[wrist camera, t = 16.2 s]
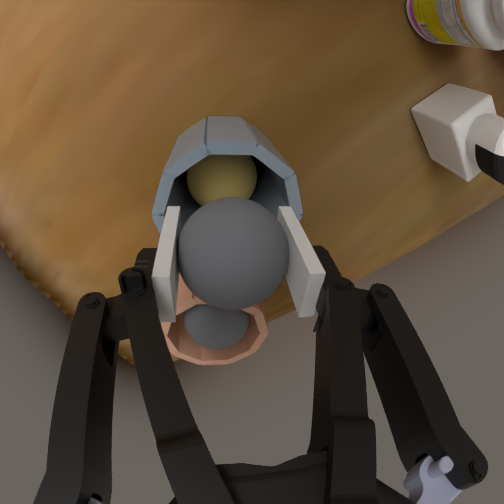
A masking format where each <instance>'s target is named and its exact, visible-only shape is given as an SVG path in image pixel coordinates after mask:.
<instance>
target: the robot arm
mask: <svg viewBox="0 0 504 504" xmlns="http://www.w3.org/2000/svg"><path fill="white" fill-rule="evenodd" d="M277 220H278V221H279V222H280V224H281V226H282V228H283V229H284V232H285V234H286V237H287V241H288V247H289V260H288V266H287V270H286V273H285V278H286V281H287V284H288V287H289V290H290V293H291V296H292V299H293V302H294V304H295V307H296V310H297V313H298V316H299V317H311V316H314V312H315V309H317V312H318V314H319V315H318V318H317V321H316V324H315V327H314V330H313V332H315V331H316V356H315V380H314V398H313V414H312V415H313V416H312V428H311V439H310V445H309V448H308V451H307V454H306V455H301V456H298V457H296V458H294V459H291V460H289V461H286V462H284V463H282V464H279V465H277V466H271V467H270V466H260V465H252V464H245V463H236V464H222V465H221V464H219V465H215V463H214V461H213V459H212V457H211V455H210V452H209V450H208V448H207V446H206V443H205V441H204V439H203V437H202V435H201V433H200V431H199V430H198V427H197V425H196V423H195V420H194V418H193V416H192V413H191V411H190V408H189V405H188V402H187V400H186V397H185V395H184V392H183V389H182V386H181V384H180V381H179V378H178V375H177V373H176V370H175V367H174V364H173V361H172V358H171V355H170V352H169V349H168V346H167V342H166V339H165V336H164V333H163V330H162V326H161V323H160V322H176V308H177V295H178V283H179V269H178V264H177V243H178V239H179V235H180V232H181V213H180V206H168V207H167V211H166V215H165V219H164V223H163V227H162V231H161V235H160V240H159V244H158V248H143V249H142V250H141V251H140V252H139V253H138V255H137V258H136V262H135V265H134V267H131V268H128V269H126V270H124V271H122V272H121V274H120V275H119V278H118V280H119V284H120V288H121V292H122V294H120V295H118V296H115V297H111V298H105V296H104V295H103V294H101V293H99V292H92V293H88V294H86V295H84V296H83V297H82V298H81V299H80V301H79V303H78V306H77V309H76V312H75V316H74V319H73V323H72V326H71V330H70V333H69V337H68V341H67V345H66V349H65V353H64V357H63V361H62V366H61V371H60V375H59V379H58V385H57V390H56V395H55V401H54V407H53V414H52V420H51V428H50V436H49V445H48V456H47V470H46V473H45V476H44V478H43V480H42V483H41V485H40V488H39V490H38V493H37V495H36V498H35V500H34V503H33V504H110V500H111V493H112V492H111V491H112V470H111V469H112V463H111V448H112V447H111V446H112V443H111V442H112V415H113V399H114V386H115V375H116V374H115V373H116V364H117V356H118V347H119V341H120V340H125V339H129V338H130V343H131V348H132V352H133V357H134V361H135V366H136V370H137V374H138V378H139V382H140V386H141V390H142V394H143V398H144V401H145V405H146V408H147V412H148V416H149V419H150V422H151V426H152V429H153V432H154V435H155V438H156V445H157V449H158V452H159V456H160V458H161V461H162V464H163V467H164V469H165V472H166V475H167V477H168V480H169V483H170V485H171V488H172V490H173V492H174V495H175V497H174V498H173V499H172V501H171V502H170V503H169V504H450V503H451V502H452V500H453V499H454V498H455V497H456V496H457V495H458V494H459V493H460V492H461V491H463V490H465V489H467V488H469V487H471V486H473V485H476V484H477V483H479V482H481V481H482V480H483V479H484V478H485V476H486V474H487V471H488V464H487V463H488V462H487V460H486V458H485V456H484V455H483V454H482V452H481V451H480V450H479V449H478V447H477V446H476V445H475V443H474V442H473V441H472V440H471V438H470V437H469V436H468V435H467V433H466V432H465V431H464V430H463V428H462V427H461V426H460V424H459V421H458V419H457V416H456V414H455V412H454V409H453V407H452V405H451V403H450V400H449V398H448V395H447V394H446V392H445V389H444V387H443V384H442V382H441V380H440V378H439V376H438V374H437V372H436V370H435V368H434V366H433V364H432V362H431V360H430V358H429V356H428V354H427V352H426V350H425V348H424V346H423V344H422V342H421V340H420V338H419V336H418V334H417V332H416V331H415V329H414V327H413V326H412V323H411V321H410V320H409V318H408V316H407V314H406V312H405V311H404V309H403V307H402V306H401V304H400V302H399V300H398V298H397V297H396V295H395V293H394V292H393V290H392V289H391V288H389V287H388V286H386V285H384V284H378V283H377V284H373V285H372V286H371V288H370V290H369V291H368V290H364V289H358V288H355V287H354V284H353V283H352V282H351V281H350V280H348V279H347V278H344V277H342V276H341V274H340V272H339V270H338V268H337V267H336V265H335V263H334V261H333V260H332V258H331V256H330V254H329V253H328V251H327V250H326V249H325V248H323V247H322V246H312V245H311V243H310V242H309V240H308V238H307V236H306V234H305V232H304V230H303V228H302V226H301V225H300V223H299V221H298V219H297V217H296V215H295V214H294V212H293V210H292V208H291V206H279V208H278V215H277ZM363 352H364V355H365V357H366V360H367V363H368V365H369V368H370V371H371V374H372V376H373V379H374V382H375V384H376V387H377V390H378V393H379V396H380V399H381V402H382V404H383V408H384V411H385V414H386V417H387V419H388V423H389V426H390V429H391V432H392V435H393V438H394V441H395V444H396V448H397V451H398V454H399V456H400V459H401V461H402V463H403V465H404V467H405V469H406V470H407V472H408V473H407V476H406V479H405V480H404V488H405V489H406V490H409V498H407V497H405V496H403V495H402V494H400V493H398V492H397V491H395V490H394V489H392V488H391V487H389V486H387V485H386V484H384V483H383V482H381V481H380V480H378V479H377V478H376V433H375V432H376V430H375V423H374V421H373V420H371V419H369V417H368V409H367V392H366V379H365V366H364V356H363Z"/></svg>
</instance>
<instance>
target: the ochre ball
mask: <svg viewBox="0 0 504 504" xmlns="http://www.w3.org/2000/svg"><path fill="white" fill-rule="evenodd" d="M256 182H257V171H256V167H255V164H254V162H253V160H252V158H251V157H250V155H208V156H206V157H205V158H203V159H202V160H200V161H199V162H197V163H196V164H194V165H193V166H191V167H190V168H189V169H188V170H187V185H188V189H189V191H190V193H191V195H192V197H193V198H194V199H195V200H196V202H197V203H199V204H200V205H201V206H203V205H205V204H207V203H209V202H211V201H214V200H217V199H221V198H227V197H238V198H244V199H249V198H250V197H251V195H252V194H253V192H254V189H255V186H256Z"/></svg>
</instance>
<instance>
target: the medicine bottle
mask: <svg viewBox="0 0 504 504" xmlns="http://www.w3.org/2000/svg"><path fill="white" fill-rule="evenodd" d="M411 113H412V115H413V117H414V119H415V122H416V124H417V126H418V129H419V131H420V133H421V136H422V138H423V141H424V143H425V146H426V148H427V151H428V153H429V156H430V158H431V159H432V160H434V161H435V162H437V163H439V164H440V165H442V166H444V167H445V168H447V169H448V170H450V171H452V172H453V173H455V174H456V175H458V176H459V177H461V178H462V179H464V180H465V181H467V182H469V181H471V180H472V179H473V178H474V177H475V176H476V175H478V174H479V173H480V172H481V171H482V172H484V173H486V174H487V175H489V176H490V177H492V178H493V179H495V180H496V181H498V182H499V183H501V184H504V118H503V117H500V116H498V115H497V114H496V110H495V106H494V103H493V99H492V96H491V95H489V94H486V93H483V92H480V91H477V90H473V89H470V88H466V87H462V86H459V85H455V84H451V83H447V84H446V85H444V86H443V87H441V88H440V89H439V90H437V91H436V92H434V93H433V94H431V95H430V96H428V97H427V98H425V99H424V100H422V101H421V102H419V103H418V104H417V105H415V106H414V107H412V108H411Z"/></svg>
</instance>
